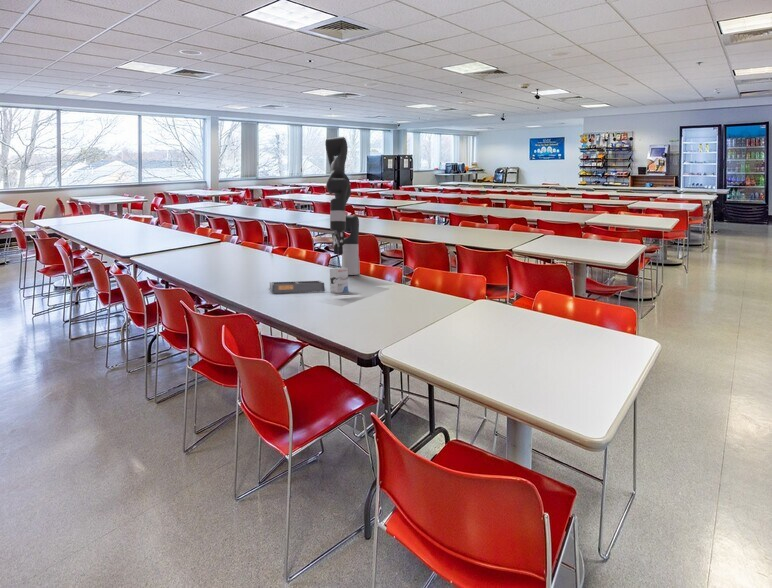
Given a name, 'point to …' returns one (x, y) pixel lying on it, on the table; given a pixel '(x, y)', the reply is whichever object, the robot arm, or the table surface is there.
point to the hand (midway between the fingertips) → (338, 254)
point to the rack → (296, 286)
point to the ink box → (338, 280)
